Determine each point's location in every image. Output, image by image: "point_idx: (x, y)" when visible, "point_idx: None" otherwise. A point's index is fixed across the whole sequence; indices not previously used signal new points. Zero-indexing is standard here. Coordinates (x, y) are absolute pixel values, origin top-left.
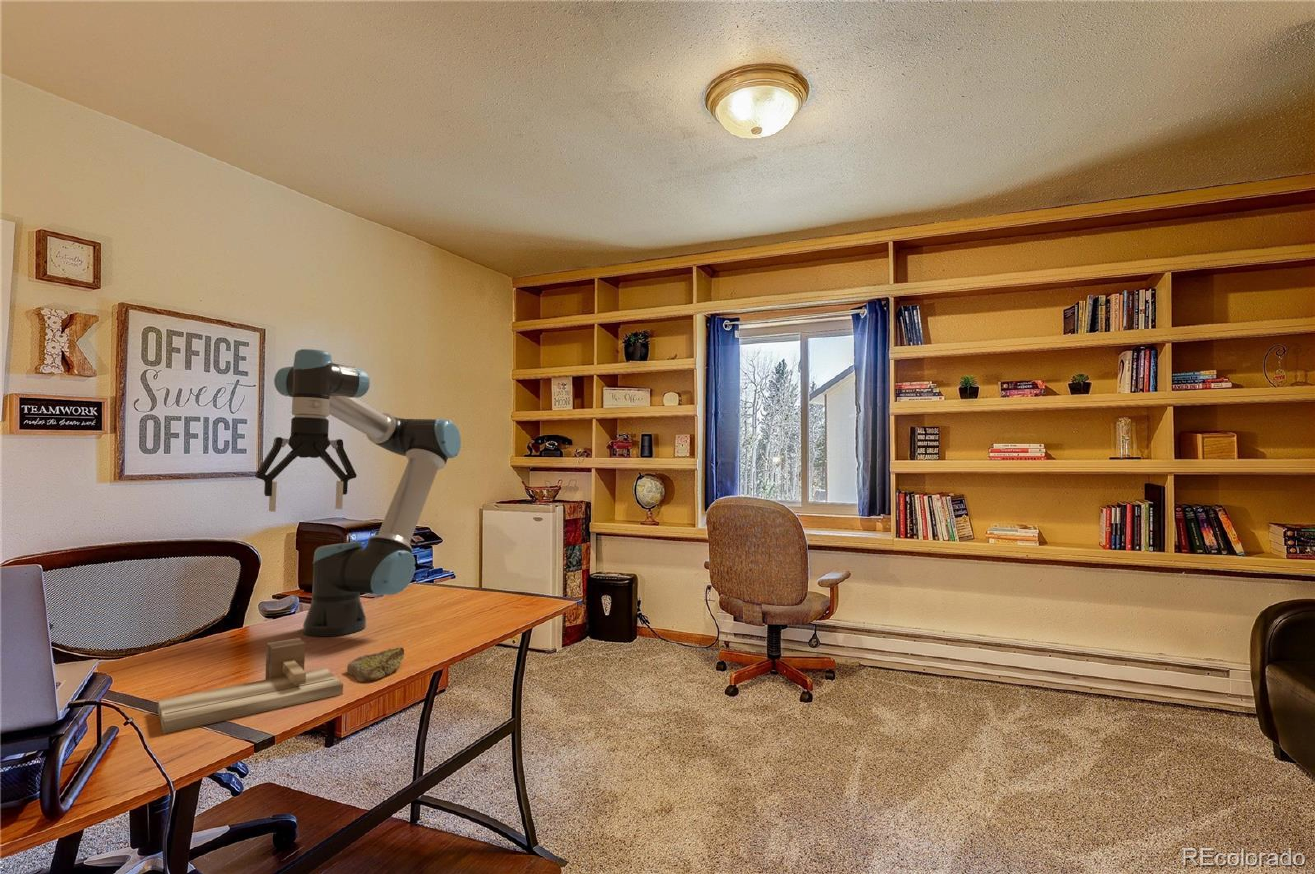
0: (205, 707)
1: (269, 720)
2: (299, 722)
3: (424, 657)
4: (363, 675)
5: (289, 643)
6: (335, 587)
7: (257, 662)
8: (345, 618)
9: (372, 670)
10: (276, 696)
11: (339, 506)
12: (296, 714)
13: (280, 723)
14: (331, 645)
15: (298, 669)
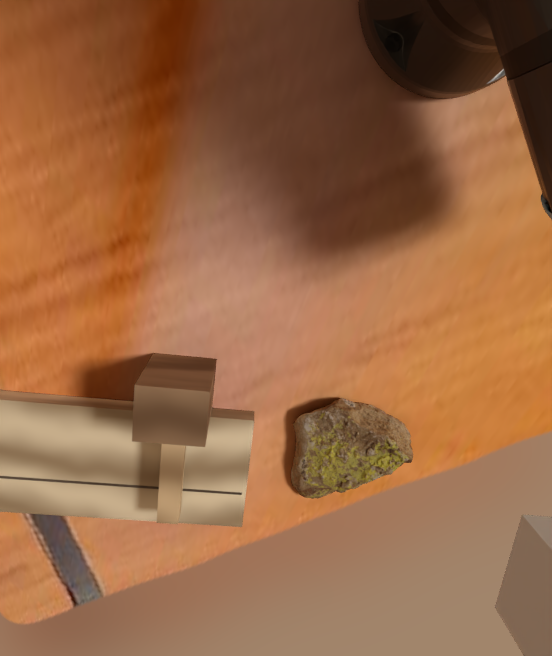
0: (18, 487)
1: (111, 544)
2: (146, 579)
3: (459, 426)
4: (298, 486)
5: (176, 424)
6: (484, 17)
7: (175, 195)
8: (459, 79)
9: (317, 488)
10: (129, 513)
11: (513, 629)
12: (152, 547)
13: (122, 565)
14: (363, 178)
15: (172, 496)
